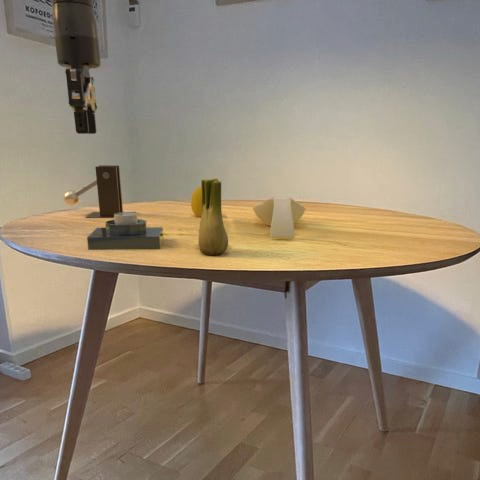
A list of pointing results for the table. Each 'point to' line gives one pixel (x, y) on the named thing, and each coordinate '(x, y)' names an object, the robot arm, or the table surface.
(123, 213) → the flush button
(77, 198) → the flush lever
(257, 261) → the table surface
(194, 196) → the lemon
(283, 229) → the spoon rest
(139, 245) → the button block
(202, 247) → the fennel bulb
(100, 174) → the lever bracket
